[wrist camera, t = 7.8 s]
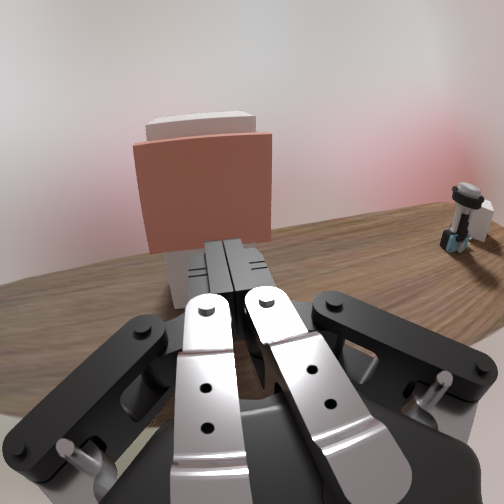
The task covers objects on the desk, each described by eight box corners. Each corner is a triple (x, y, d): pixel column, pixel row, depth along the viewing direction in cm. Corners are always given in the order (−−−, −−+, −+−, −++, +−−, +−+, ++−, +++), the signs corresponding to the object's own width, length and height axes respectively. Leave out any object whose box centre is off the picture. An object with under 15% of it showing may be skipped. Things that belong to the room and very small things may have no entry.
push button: (458, 238, 40) (472, 181, 34) (478, 254, 35) (496, 194, 30) (432, 241, 39) (447, 179, 34) (453, 259, 34) (472, 193, 29)
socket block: (256, 299, 29) (255, 116, 20) (174, 309, 27) (145, 125, 19) (244, 261, 35) (240, 110, 26) (175, 268, 33) (156, 117, 25)
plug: (270, 241, 22) (272, 134, 18) (150, 254, 21) (132, 145, 17) (251, 204, 29) (250, 122, 24) (158, 213, 27) (148, 131, 23)
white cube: (482, 230, 43) (490, 201, 39) (484, 243, 39) (494, 211, 35) (455, 220, 46) (463, 191, 43) (455, 232, 42) (464, 200, 39)
